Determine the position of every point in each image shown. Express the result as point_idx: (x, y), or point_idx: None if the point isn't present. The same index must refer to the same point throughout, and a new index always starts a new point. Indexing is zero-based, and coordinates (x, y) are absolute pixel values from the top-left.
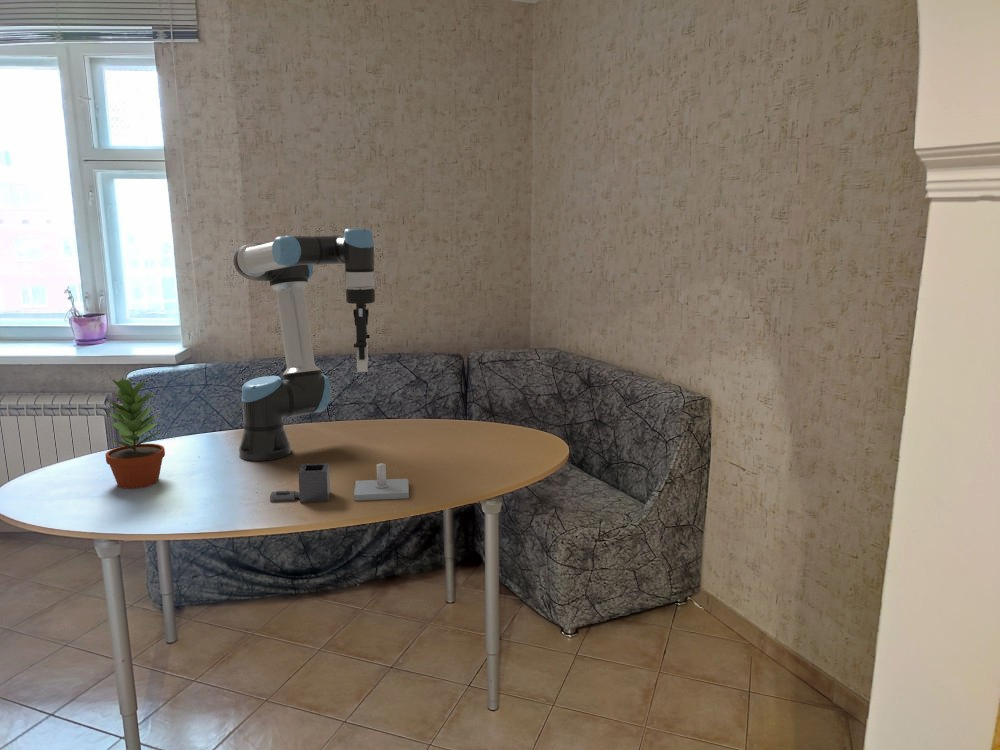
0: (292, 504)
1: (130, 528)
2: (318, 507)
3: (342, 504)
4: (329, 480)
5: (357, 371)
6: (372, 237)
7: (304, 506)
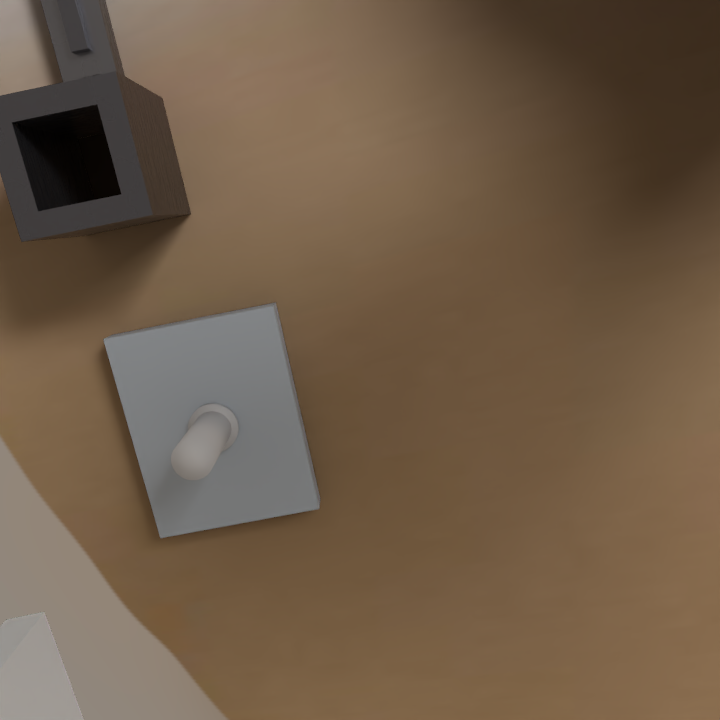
0: None
1: None
2: None
3: (65, 301)
4: (159, 217)
5: (4, 627)
6: None
7: None
